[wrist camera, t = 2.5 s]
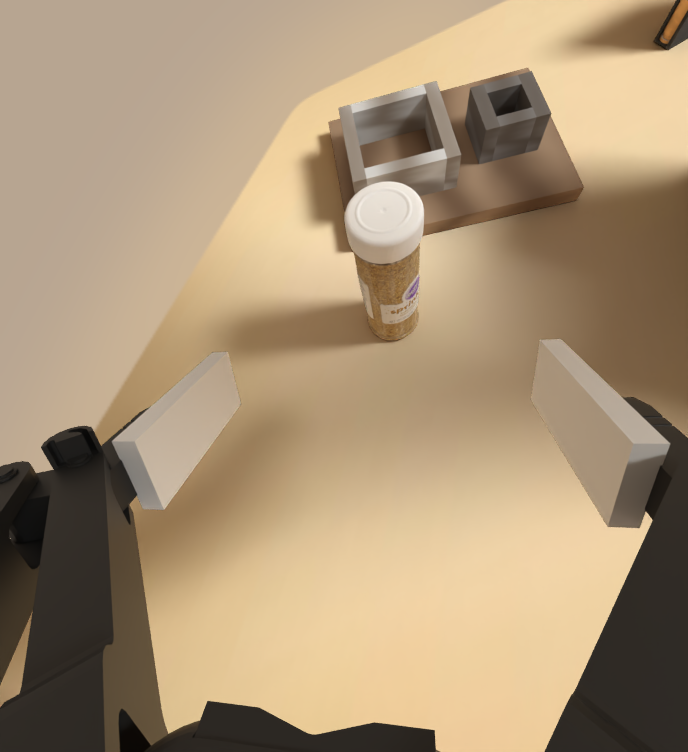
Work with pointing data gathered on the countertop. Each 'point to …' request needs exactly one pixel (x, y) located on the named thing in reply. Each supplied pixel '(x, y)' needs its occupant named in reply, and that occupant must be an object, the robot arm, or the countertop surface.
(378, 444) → the countertop surface
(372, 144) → the socket board
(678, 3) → the ammunition clip
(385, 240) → the sprinkles bottle
